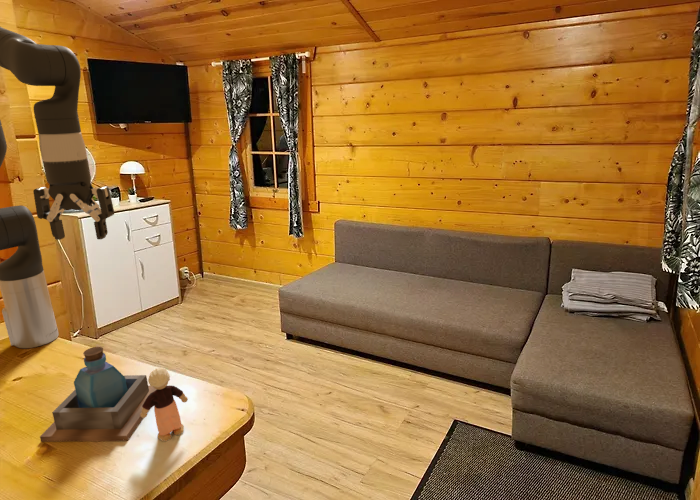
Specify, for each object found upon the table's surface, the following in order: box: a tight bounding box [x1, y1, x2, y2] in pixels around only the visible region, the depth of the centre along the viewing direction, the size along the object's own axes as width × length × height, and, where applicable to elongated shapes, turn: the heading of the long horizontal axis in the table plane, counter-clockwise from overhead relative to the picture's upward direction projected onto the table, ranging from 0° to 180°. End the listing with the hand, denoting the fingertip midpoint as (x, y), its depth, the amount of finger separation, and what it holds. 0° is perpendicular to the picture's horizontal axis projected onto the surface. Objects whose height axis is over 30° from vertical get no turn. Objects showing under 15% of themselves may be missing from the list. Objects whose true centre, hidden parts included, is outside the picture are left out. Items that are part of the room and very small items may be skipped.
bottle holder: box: [39, 374, 157, 443], centre depth 88 cm, size 15×15×4 cm
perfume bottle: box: [73, 346, 128, 408], centre depth 87 cm, size 6×6×12 cm
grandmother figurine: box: [140, 367, 189, 442], centre depth 81 cm, size 8×4×13 cm, turn 141°
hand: (80, 238), depth 97 cm, fingers open, 8 cm apart
